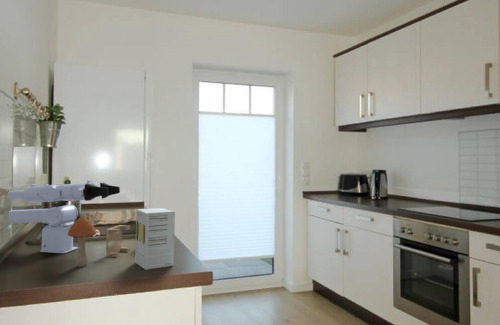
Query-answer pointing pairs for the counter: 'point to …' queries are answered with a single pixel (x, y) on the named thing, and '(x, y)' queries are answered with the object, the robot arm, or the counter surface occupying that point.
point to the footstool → (115, 241)
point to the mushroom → (82, 237)
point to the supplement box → (154, 238)
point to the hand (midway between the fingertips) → (113, 190)
